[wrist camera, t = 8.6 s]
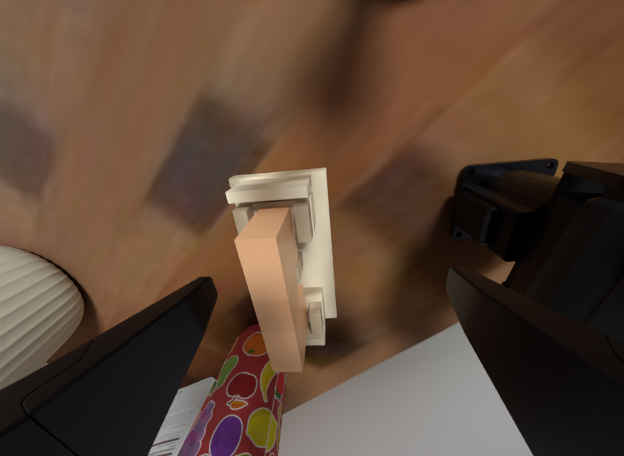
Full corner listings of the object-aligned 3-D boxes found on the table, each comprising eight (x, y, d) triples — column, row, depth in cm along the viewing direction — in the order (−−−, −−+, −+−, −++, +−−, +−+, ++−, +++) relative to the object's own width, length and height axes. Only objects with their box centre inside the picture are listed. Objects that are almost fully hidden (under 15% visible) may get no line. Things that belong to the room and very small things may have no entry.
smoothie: (267, 366, 31) (181, 708, 13) (220, 334, 29) (35, 695, 11) (310, 342, 28) (277, 739, 10) (261, 304, 26) (104, 730, 8)
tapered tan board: (290, 206, 17) (275, 237, 12) (308, 320, 22) (302, 372, 17) (259, 208, 17) (234, 240, 12) (284, 320, 22) (273, 371, 18)
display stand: (325, 167, 18) (324, 181, 14) (336, 309, 25) (337, 346, 21) (234, 175, 19) (207, 190, 15) (268, 310, 26) (257, 346, 22)
